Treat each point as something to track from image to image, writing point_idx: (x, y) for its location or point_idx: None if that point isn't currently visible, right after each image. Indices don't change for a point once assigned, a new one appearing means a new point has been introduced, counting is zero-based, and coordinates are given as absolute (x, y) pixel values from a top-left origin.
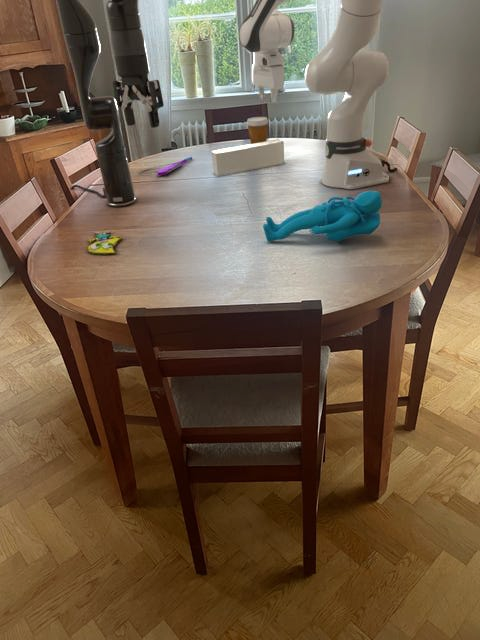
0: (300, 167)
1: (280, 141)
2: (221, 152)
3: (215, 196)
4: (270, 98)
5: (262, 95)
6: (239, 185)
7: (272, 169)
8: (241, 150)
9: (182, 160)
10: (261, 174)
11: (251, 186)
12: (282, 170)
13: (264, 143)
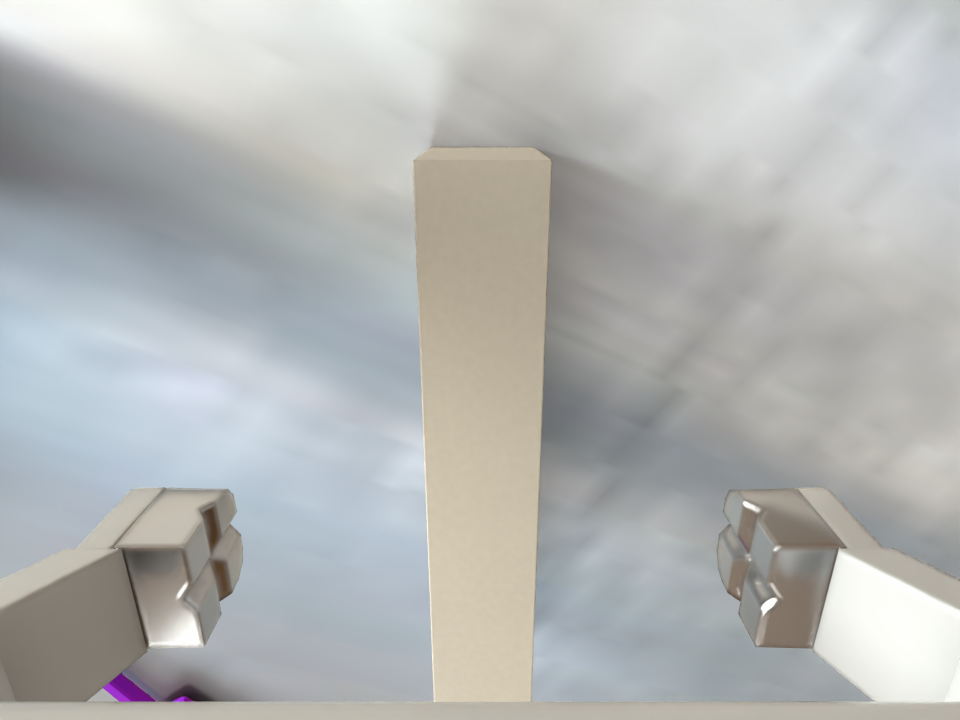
0: (719, 87)
1: (527, 186)
2: (526, 688)
3: (824, 701)
4: (754, 623)
5: (204, 600)
6: None
7: (612, 291)
8: (536, 555)
9: (114, 691)
10: (664, 398)
11: None
12: (686, 244)
13: (490, 347)
